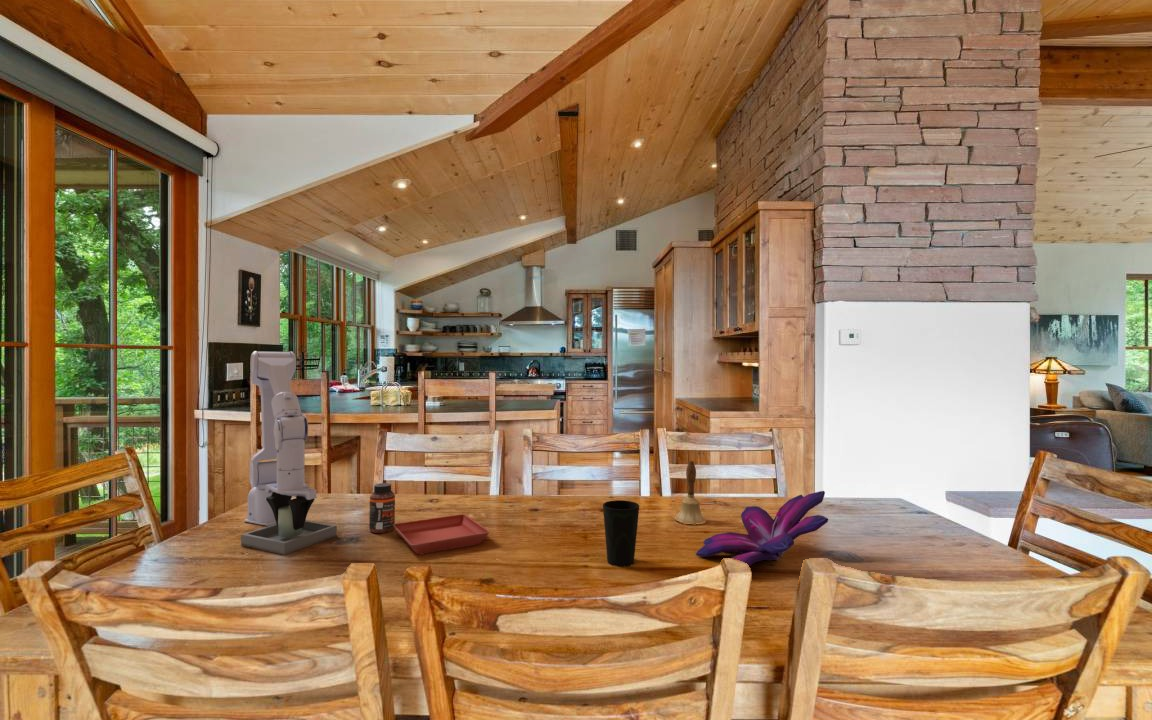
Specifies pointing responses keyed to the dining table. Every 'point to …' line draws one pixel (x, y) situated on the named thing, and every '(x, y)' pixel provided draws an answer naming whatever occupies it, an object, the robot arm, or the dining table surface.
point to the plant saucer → (441, 533)
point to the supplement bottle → (382, 509)
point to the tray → (284, 545)
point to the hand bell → (690, 500)
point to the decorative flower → (768, 531)
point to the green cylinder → (286, 523)
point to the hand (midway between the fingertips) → (290, 526)
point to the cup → (620, 531)
